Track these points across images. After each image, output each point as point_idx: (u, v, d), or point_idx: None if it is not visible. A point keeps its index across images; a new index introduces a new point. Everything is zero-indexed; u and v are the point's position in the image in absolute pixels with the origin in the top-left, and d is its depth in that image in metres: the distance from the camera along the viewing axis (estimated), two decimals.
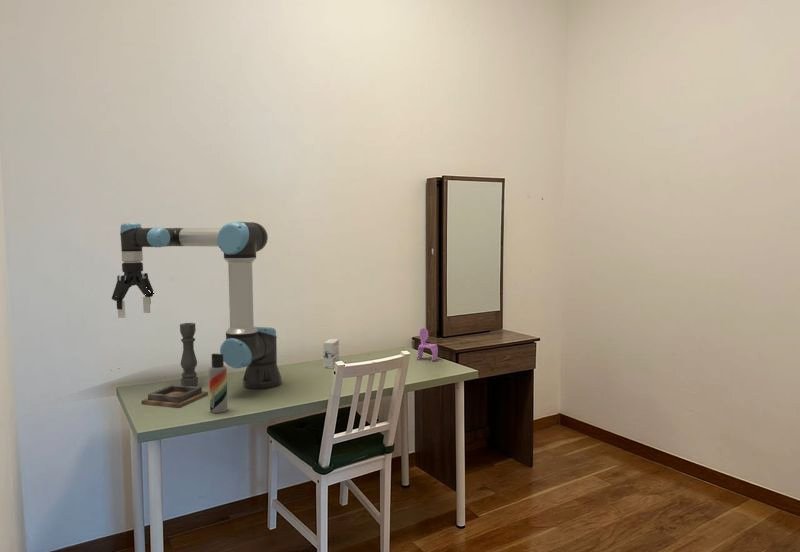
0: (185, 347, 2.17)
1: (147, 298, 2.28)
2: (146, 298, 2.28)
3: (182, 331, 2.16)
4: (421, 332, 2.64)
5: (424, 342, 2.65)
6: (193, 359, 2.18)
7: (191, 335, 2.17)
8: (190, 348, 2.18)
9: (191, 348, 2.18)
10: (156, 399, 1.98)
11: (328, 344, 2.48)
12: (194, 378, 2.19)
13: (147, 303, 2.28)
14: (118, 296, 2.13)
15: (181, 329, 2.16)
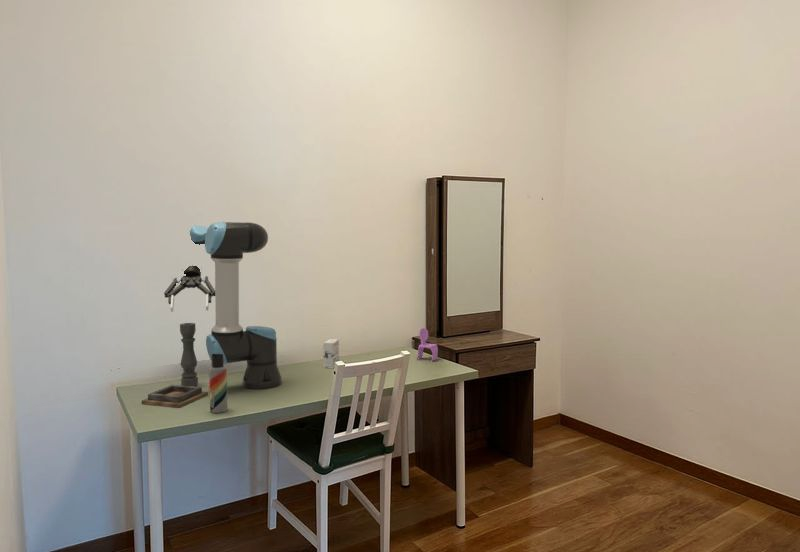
0: (185, 347, 2.17)
1: (206, 295, 2.33)
2: None
3: (182, 331, 2.16)
4: (421, 332, 2.64)
5: (424, 342, 2.65)
6: (193, 359, 2.18)
7: (191, 335, 2.17)
8: (190, 348, 2.18)
9: (191, 348, 2.18)
10: (156, 399, 1.98)
11: (328, 344, 2.48)
12: (194, 378, 2.19)
13: (206, 299, 2.31)
14: (166, 291, 2.30)
15: (181, 329, 2.16)
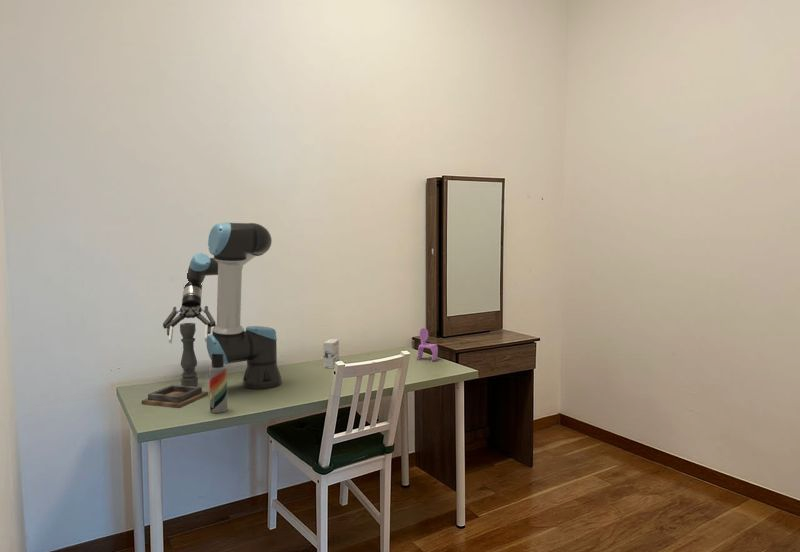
0: (185, 347, 2.17)
1: None
2: (205, 327, 2.28)
3: (182, 331, 2.16)
4: (421, 332, 2.64)
5: (424, 342, 2.65)
6: (193, 359, 2.18)
7: (191, 335, 2.17)
8: (190, 348, 2.18)
9: (191, 348, 2.18)
10: (156, 399, 1.98)
11: (328, 344, 2.48)
12: (194, 378, 2.19)
13: (205, 330, 2.27)
14: (165, 322, 2.25)
15: (181, 329, 2.16)
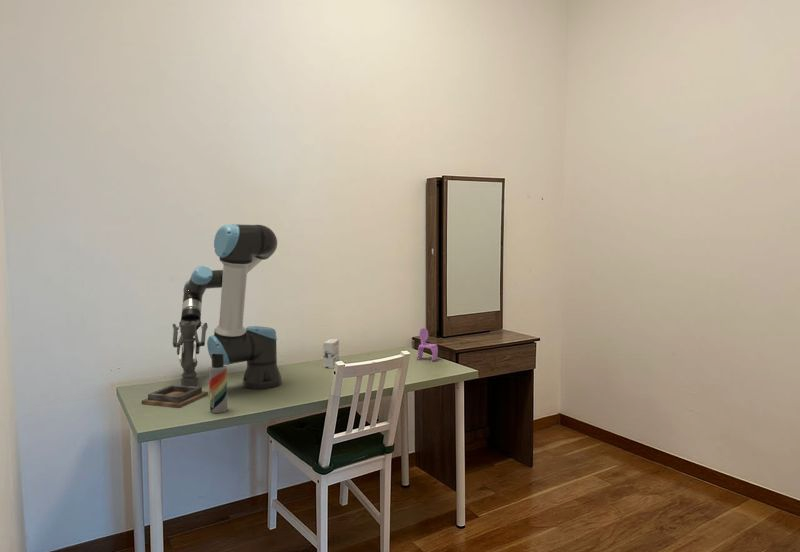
0: (185, 347, 2.17)
1: (194, 346, 2.19)
2: (194, 347, 2.20)
3: (182, 331, 2.16)
4: (421, 332, 2.64)
5: (424, 342, 2.65)
6: None
7: (191, 335, 2.17)
8: (190, 348, 2.18)
9: (191, 348, 2.18)
10: (156, 399, 1.98)
11: (328, 344, 2.48)
12: (194, 378, 2.19)
13: None
14: (174, 341, 2.19)
15: (181, 329, 2.16)
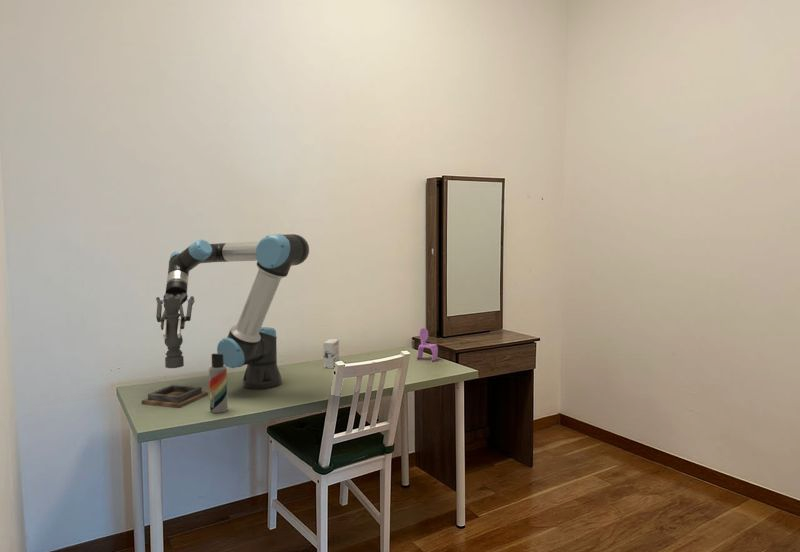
0: (169, 323, 2.00)
1: None
2: None
3: (166, 305, 1.98)
4: (421, 332, 2.64)
5: (424, 342, 2.65)
6: (177, 336, 2.00)
7: (176, 310, 2.00)
8: (174, 324, 2.00)
9: (176, 324, 2.00)
10: (156, 399, 1.98)
11: (328, 344, 2.48)
12: (179, 357, 2.01)
13: (178, 325, 2.00)
14: (157, 315, 2.01)
15: (165, 303, 1.99)
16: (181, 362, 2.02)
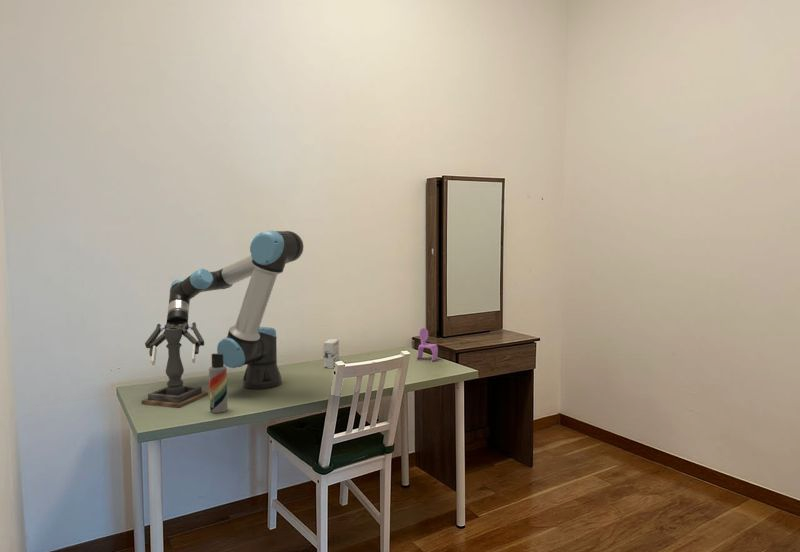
0: (170, 353, 2.00)
1: (193, 345, 2.05)
2: (193, 346, 2.05)
3: (167, 336, 1.99)
4: (421, 332, 2.64)
5: (424, 342, 2.65)
6: (179, 366, 2.01)
7: (177, 340, 2.01)
8: (175, 355, 2.01)
9: (177, 354, 2.01)
10: (156, 399, 1.98)
11: (328, 344, 2.48)
12: (180, 387, 2.02)
13: None
14: (147, 341, 2.02)
15: (166, 334, 1.99)
16: (182, 392, 2.03)
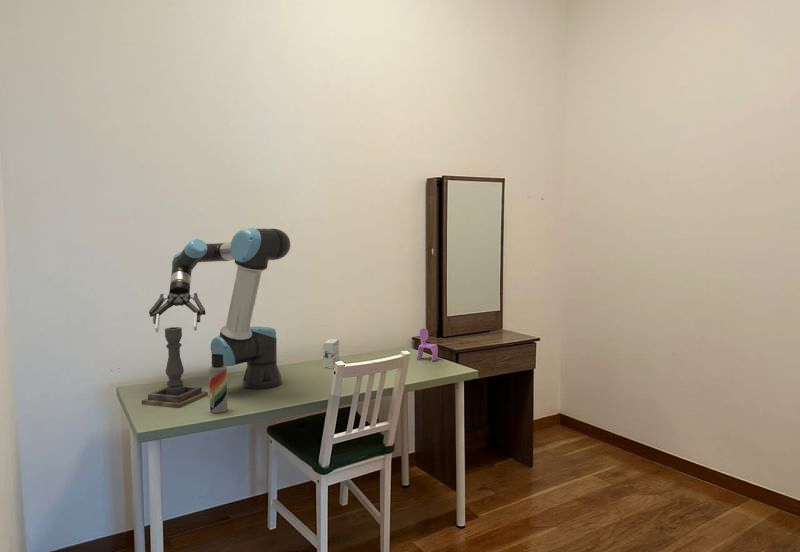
0: (170, 353, 2.00)
1: None
2: None
3: (167, 336, 1.99)
4: (421, 332, 2.64)
5: (424, 342, 2.65)
6: (179, 366, 2.01)
7: (177, 340, 2.01)
8: (175, 355, 2.01)
9: (177, 354, 2.01)
10: (156, 399, 1.98)
11: (328, 344, 2.48)
12: (180, 387, 2.02)
13: None
14: (151, 310, 2.11)
15: (166, 334, 1.99)
16: (182, 392, 2.03)
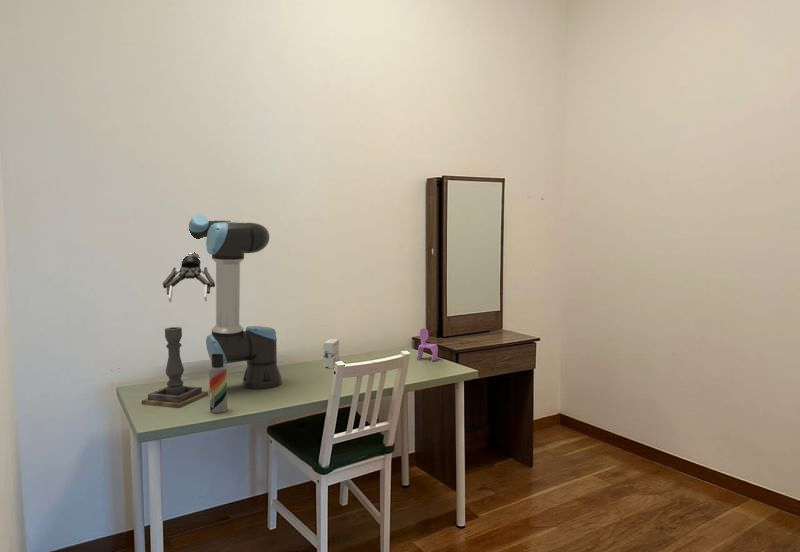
0: (170, 353, 2.00)
1: (205, 286, 2.30)
2: (205, 287, 2.31)
3: (167, 336, 1.99)
4: (421, 332, 2.64)
5: (424, 342, 2.65)
6: (179, 366, 2.01)
7: (177, 340, 2.01)
8: (175, 355, 2.01)
9: (177, 354, 2.01)
10: (156, 399, 1.98)
11: (328, 344, 2.48)
12: (180, 387, 2.02)
13: None
14: (165, 282, 2.28)
15: (166, 334, 1.99)
16: (182, 392, 2.03)
